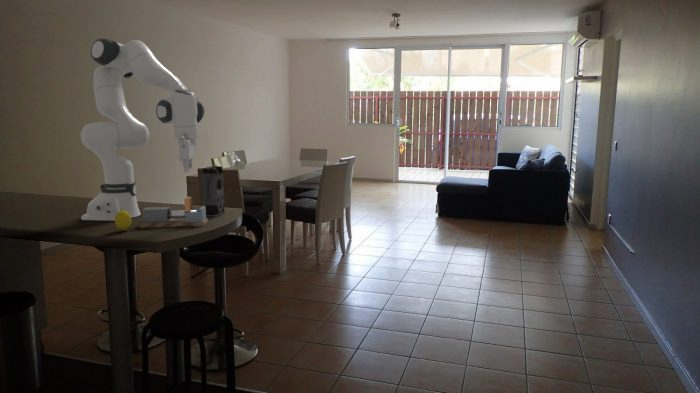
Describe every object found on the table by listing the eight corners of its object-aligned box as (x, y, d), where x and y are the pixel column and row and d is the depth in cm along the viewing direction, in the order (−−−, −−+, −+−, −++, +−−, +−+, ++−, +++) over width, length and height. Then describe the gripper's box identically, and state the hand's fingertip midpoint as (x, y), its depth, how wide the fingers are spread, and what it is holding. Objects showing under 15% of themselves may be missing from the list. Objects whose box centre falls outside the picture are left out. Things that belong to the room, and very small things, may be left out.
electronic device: (216, 217, 220) (214, 168, 217) (203, 216, 221) (200, 168, 218) (226, 212, 229) (223, 166, 226) (213, 212, 230) (210, 166, 227)
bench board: (139, 227, 202) (139, 223, 202) (146, 222, 210) (145, 219, 210) (203, 226, 204) (203, 222, 203) (208, 221, 212) (207, 218, 211)
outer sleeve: (143, 222, 204) (142, 209, 203) (147, 219, 208) (146, 207, 208) (167, 222, 204) (166, 209, 203) (170, 219, 209) (170, 206, 208)
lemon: (118, 229, 200) (117, 208, 198) (134, 228, 200) (132, 208, 199) (113, 232, 194) (111, 211, 193) (129, 232, 195) (127, 210, 193)
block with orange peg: (158, 219, 204) (157, 199, 203) (161, 217, 208) (160, 197, 207) (196, 218, 205) (194, 198, 204) (198, 216, 209) (197, 196, 208)
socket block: (185, 222, 204) (184, 209, 203) (189, 218, 210) (188, 206, 209) (202, 221, 204) (202, 209, 204) (206, 218, 210) (205, 206, 209)
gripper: (192, 135, 192) (194, 173, 194) (197, 131, 212) (199, 166, 214) (173, 135, 191) (175, 174, 193) (180, 131, 210) (182, 166, 213)
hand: (188, 170), depth 204 cm, fingers open, 8 cm apart
